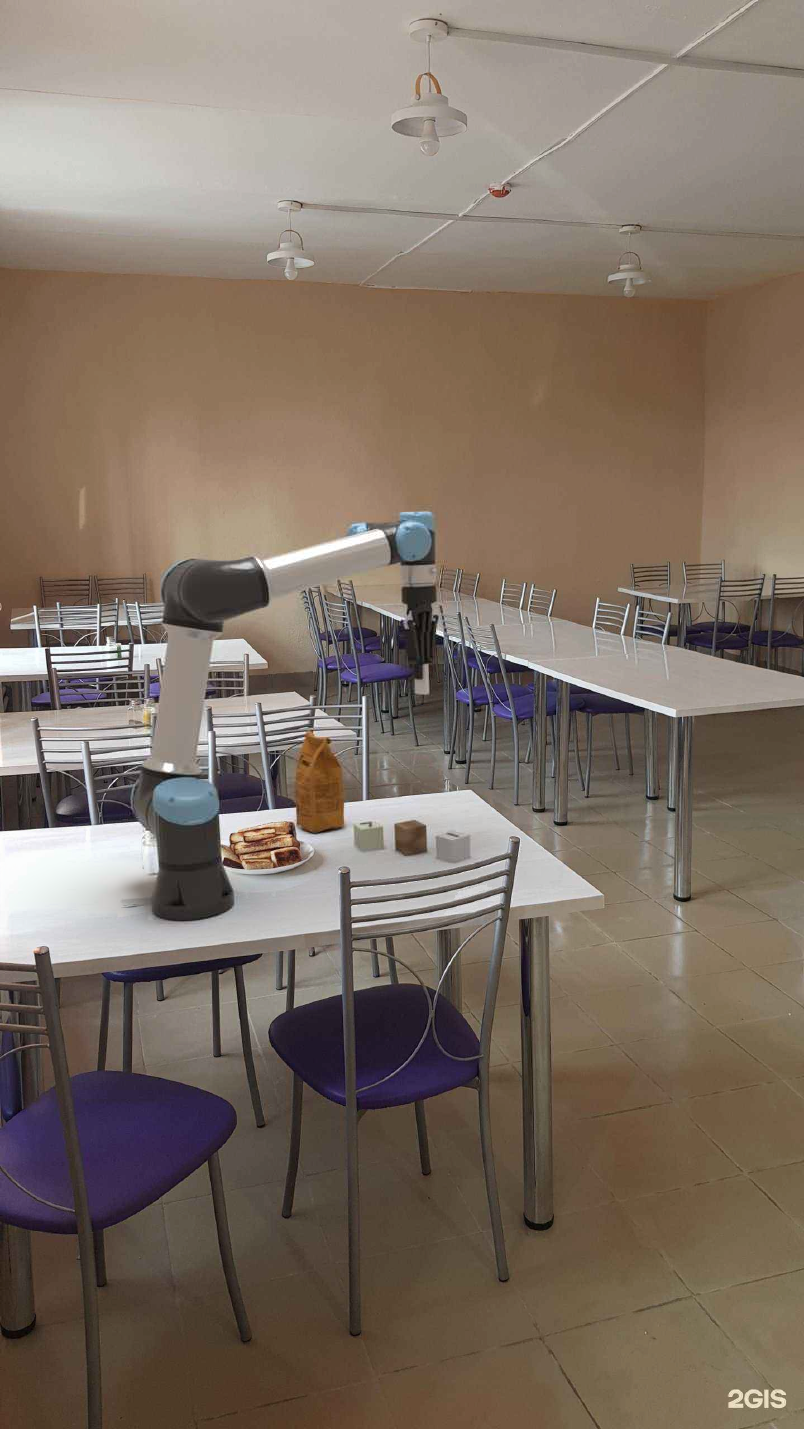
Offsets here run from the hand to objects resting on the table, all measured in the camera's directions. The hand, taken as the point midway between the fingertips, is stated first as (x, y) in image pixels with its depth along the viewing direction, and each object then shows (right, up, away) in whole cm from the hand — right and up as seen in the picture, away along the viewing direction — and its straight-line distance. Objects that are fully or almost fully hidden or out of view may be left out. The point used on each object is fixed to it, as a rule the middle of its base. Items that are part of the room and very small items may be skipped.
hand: (422, 693), depth 231 cm
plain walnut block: (-2, -34, -4) cm, 34 cm away
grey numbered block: (+6, -35, -9) cm, 36 cm away
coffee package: (-24, -31, +17) cm, 42 cm away
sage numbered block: (-12, -34, 0) cm, 35 cm away
